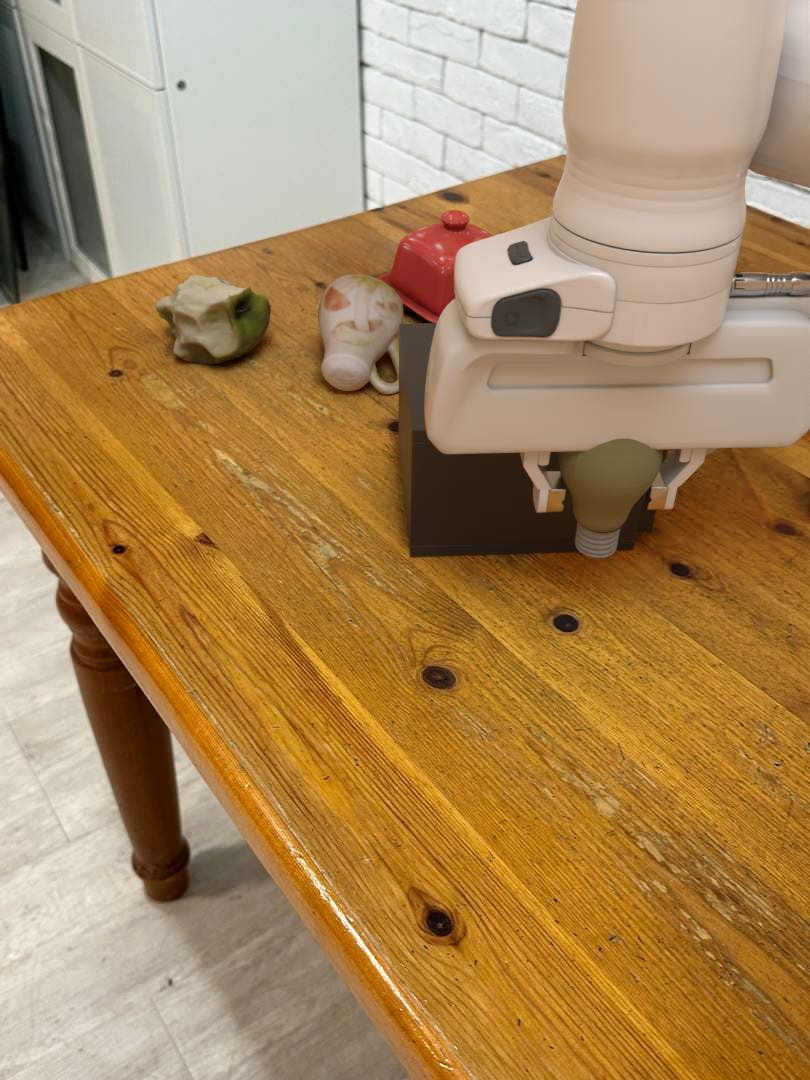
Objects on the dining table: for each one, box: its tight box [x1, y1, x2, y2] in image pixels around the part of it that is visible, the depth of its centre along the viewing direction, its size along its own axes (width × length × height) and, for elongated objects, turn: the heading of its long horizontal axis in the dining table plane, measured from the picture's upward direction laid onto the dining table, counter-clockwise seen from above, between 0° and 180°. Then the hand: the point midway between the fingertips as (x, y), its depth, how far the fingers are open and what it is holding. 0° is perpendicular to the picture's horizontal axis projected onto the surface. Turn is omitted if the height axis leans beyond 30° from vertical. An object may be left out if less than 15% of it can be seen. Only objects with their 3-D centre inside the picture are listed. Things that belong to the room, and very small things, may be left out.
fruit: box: [154, 274, 272, 365], centre depth 88 cm, size 9×9×8 cm
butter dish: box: [376, 209, 494, 323], centre depth 95 cm, size 12×12×8 cm
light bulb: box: [558, 438, 663, 560], centre depth 58 cm, size 6×6×10 cm
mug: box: [317, 273, 405, 395], centre depth 86 cm, size 8×10×10 cm
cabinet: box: [397, 322, 642, 558], centre depth 71 cm, size 15×14×10 cm
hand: (600, 505), depth 59 cm, fingers closed on light bulb, 5 cm apart
